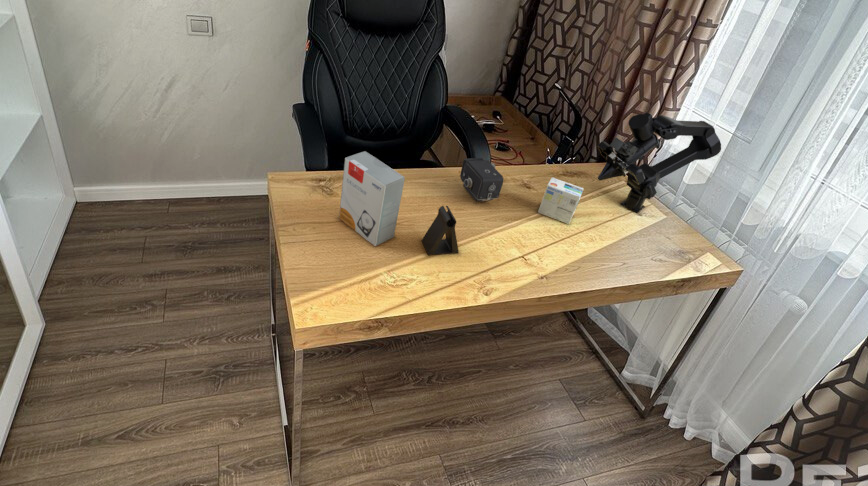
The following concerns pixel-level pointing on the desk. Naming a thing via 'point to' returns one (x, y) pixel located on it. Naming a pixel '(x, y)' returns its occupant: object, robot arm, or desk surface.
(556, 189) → the light bulb box
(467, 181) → the camera
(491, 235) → the desk surface
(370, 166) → the hard drive box
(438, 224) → the phone stand
